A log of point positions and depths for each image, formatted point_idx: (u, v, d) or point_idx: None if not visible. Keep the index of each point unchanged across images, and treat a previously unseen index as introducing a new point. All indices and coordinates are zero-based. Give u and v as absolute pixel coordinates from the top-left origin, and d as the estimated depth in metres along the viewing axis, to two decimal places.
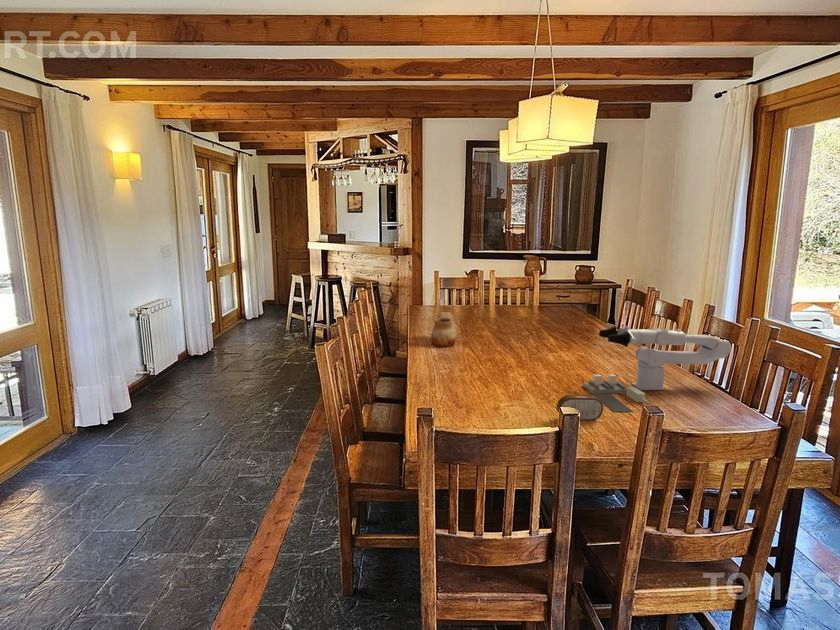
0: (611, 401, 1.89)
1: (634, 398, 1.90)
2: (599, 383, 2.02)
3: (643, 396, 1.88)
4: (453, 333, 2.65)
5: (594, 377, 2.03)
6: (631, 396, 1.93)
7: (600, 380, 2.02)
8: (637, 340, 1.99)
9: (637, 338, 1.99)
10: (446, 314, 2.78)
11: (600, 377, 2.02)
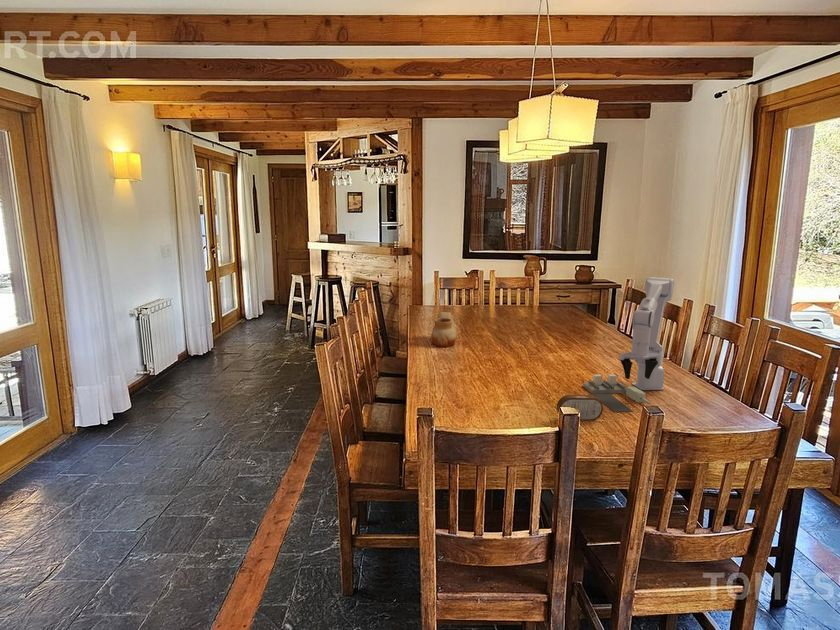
0: (611, 401, 1.89)
1: (634, 398, 1.90)
2: (599, 383, 2.02)
3: (643, 396, 1.89)
4: (453, 333, 2.65)
5: (594, 377, 2.03)
6: (631, 396, 1.93)
7: (600, 380, 2.02)
8: None
9: None
10: (446, 314, 2.78)
11: (600, 377, 2.02)
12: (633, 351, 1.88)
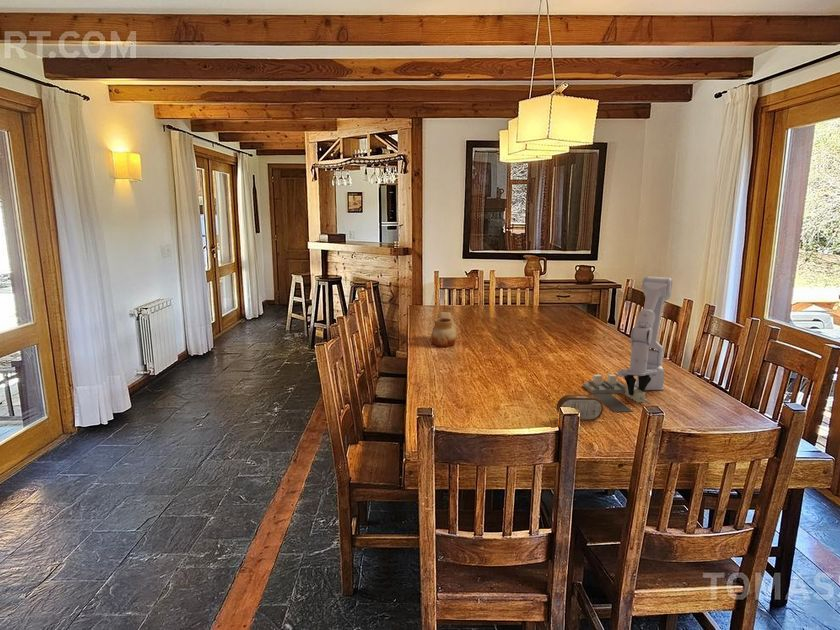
0: (611, 401, 1.89)
1: (634, 397, 1.90)
2: (599, 383, 2.02)
3: (643, 395, 1.89)
4: (453, 333, 2.65)
5: (594, 377, 2.03)
6: (630, 396, 1.93)
7: (600, 380, 2.02)
8: None
9: None
10: (446, 314, 2.78)
11: (600, 377, 2.02)
12: (631, 368, 1.90)
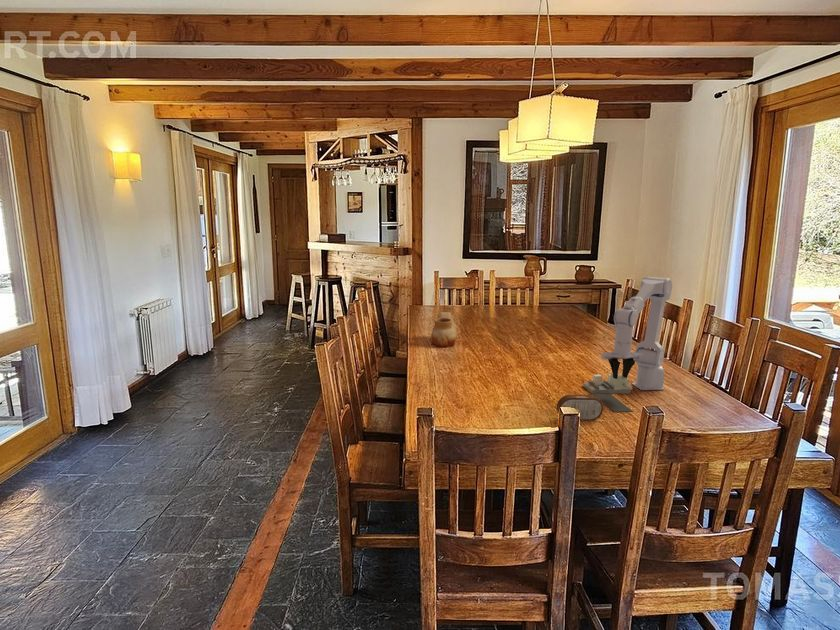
0: (611, 401, 1.89)
1: (617, 384, 1.87)
2: (599, 383, 2.02)
3: (626, 382, 1.85)
4: (453, 333, 2.65)
5: (594, 377, 2.03)
6: (614, 383, 1.90)
7: (600, 380, 2.02)
8: None
9: None
10: (446, 314, 2.78)
11: (600, 377, 2.02)
12: (615, 350, 1.86)
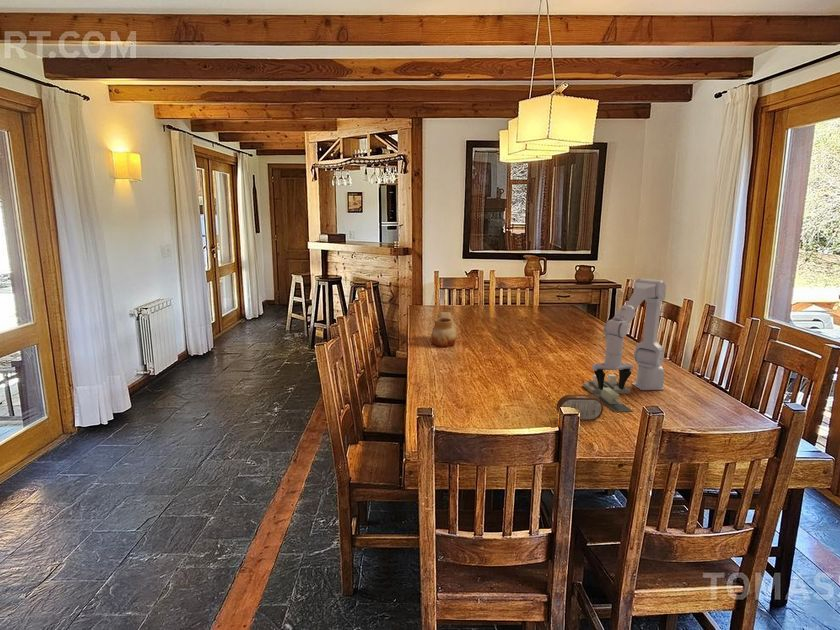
0: None
1: (608, 399, 1.87)
2: None
3: (617, 397, 1.86)
4: (453, 333, 2.65)
5: (594, 377, 2.03)
6: (605, 397, 1.90)
7: None
8: None
9: None
10: (446, 314, 2.78)
11: None
12: (606, 362, 1.86)
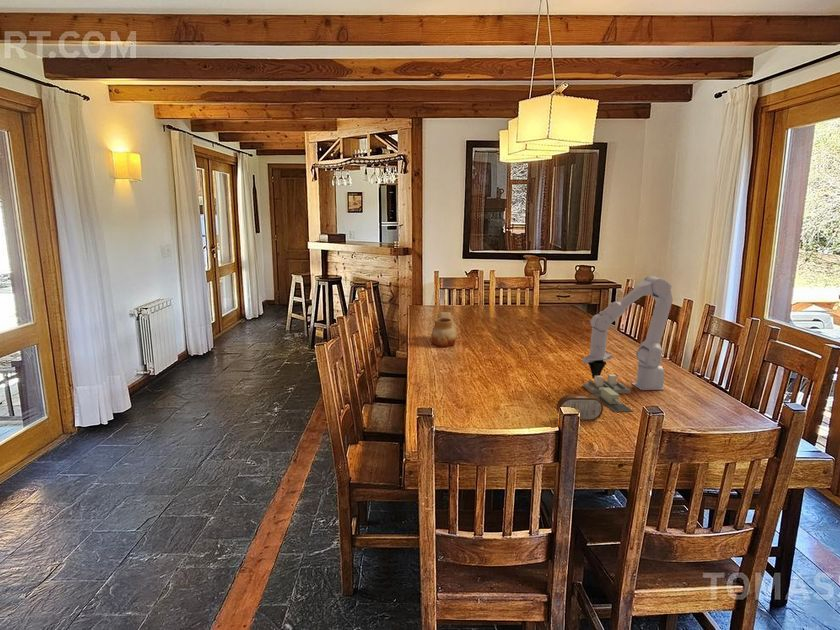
0: None
1: (608, 399, 1.87)
2: (600, 384, 2.01)
3: (617, 397, 1.86)
4: (453, 333, 2.65)
5: (595, 378, 2.02)
6: (605, 397, 1.90)
7: (601, 381, 2.01)
8: None
9: None
10: (446, 314, 2.78)
11: (601, 378, 2.01)
12: (594, 354, 2.01)
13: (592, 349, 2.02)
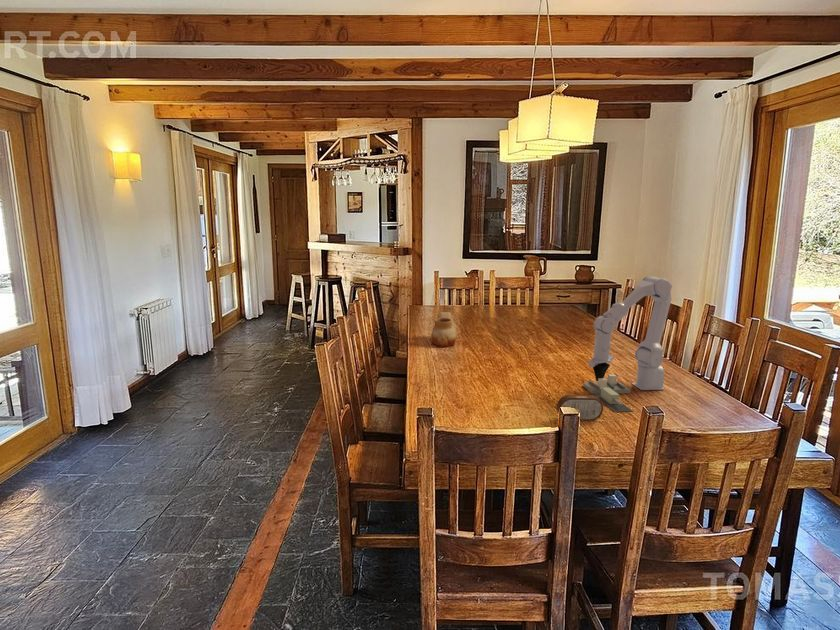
0: None
1: (608, 399, 1.87)
2: (604, 387, 1.98)
3: (617, 397, 1.86)
4: (453, 333, 2.65)
5: (599, 381, 1.98)
6: (605, 397, 1.90)
7: (605, 383, 1.98)
8: None
9: None
10: (446, 314, 2.78)
11: (605, 381, 1.98)
12: (599, 357, 1.97)
13: (597, 352, 1.98)
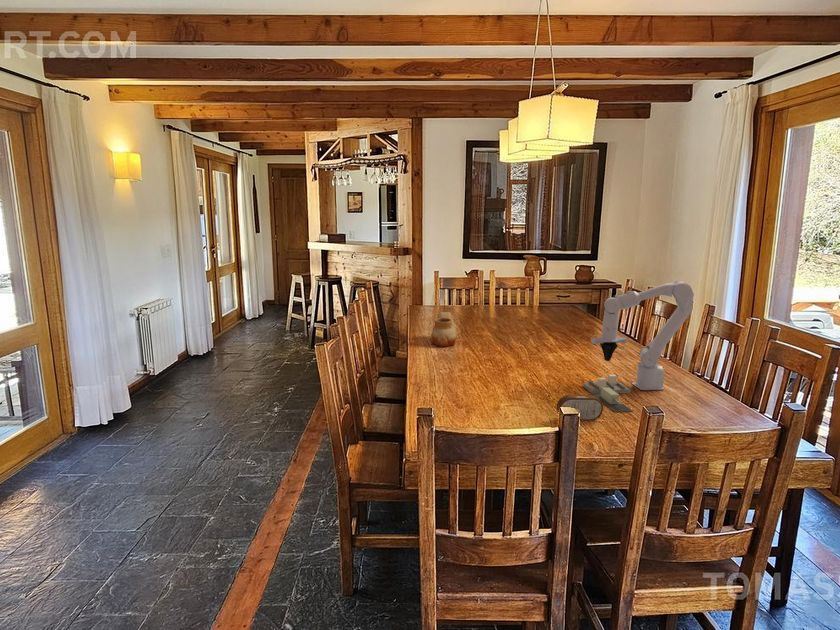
0: None
1: (608, 399, 1.87)
2: (603, 386, 1.98)
3: (617, 397, 1.86)
4: (453, 333, 2.65)
5: (598, 380, 1.99)
6: (605, 397, 1.90)
7: (604, 383, 1.98)
8: None
9: None
10: (446, 314, 2.78)
11: (605, 380, 1.98)
12: (604, 336, 2.06)
13: (603, 331, 2.07)
